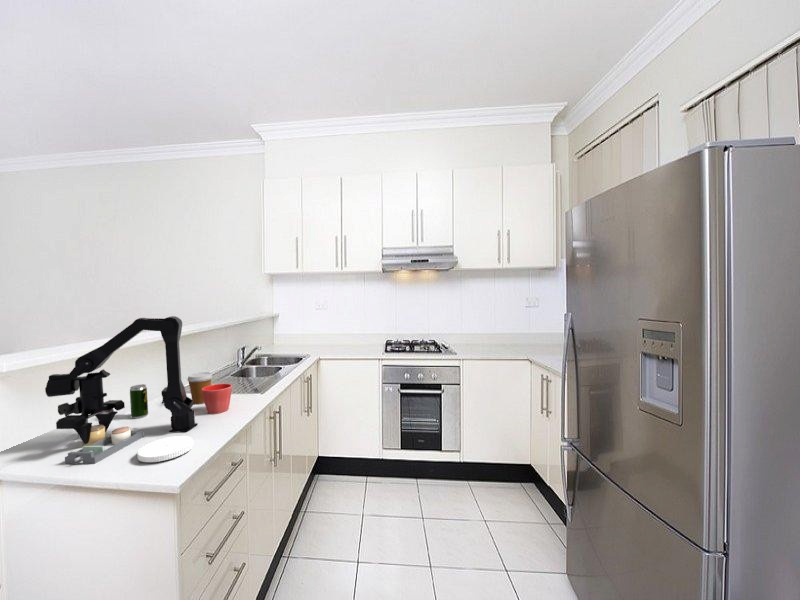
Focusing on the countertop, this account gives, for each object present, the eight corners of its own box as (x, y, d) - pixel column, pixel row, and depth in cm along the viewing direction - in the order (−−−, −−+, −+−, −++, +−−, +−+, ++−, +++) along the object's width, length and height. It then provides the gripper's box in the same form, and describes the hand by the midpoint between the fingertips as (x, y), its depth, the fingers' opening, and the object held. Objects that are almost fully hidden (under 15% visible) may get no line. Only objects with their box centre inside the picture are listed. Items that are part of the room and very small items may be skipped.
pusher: (104, 454, 106) (104, 445, 106) (86, 464, 100) (85, 455, 100) (84, 454, 106) (84, 445, 106) (65, 464, 100) (64, 455, 100)
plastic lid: (125, 464, 101) (124, 455, 101) (165, 442, 115) (165, 434, 115) (168, 467, 99) (167, 458, 98) (203, 444, 112) (203, 436, 112)
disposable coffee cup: (205, 405, 150) (204, 377, 149) (183, 405, 150) (182, 377, 149) (217, 398, 159) (216, 371, 159) (196, 398, 159) (195, 372, 159)
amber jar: (110, 439, 118) (109, 424, 118) (95, 446, 112) (94, 431, 112) (94, 439, 118) (93, 424, 118) (78, 446, 112) (77, 431, 112)
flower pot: (212, 406, 148) (211, 383, 148) (237, 405, 148) (236, 382, 147) (196, 415, 138) (195, 391, 137) (224, 415, 137) (223, 390, 137)
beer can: (130, 420, 135) (128, 389, 134) (131, 416, 139) (130, 385, 139) (148, 417, 137) (146, 386, 137) (148, 413, 142) (146, 383, 141)
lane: (143, 436, 119) (143, 427, 119) (94, 463, 101) (94, 453, 101) (118, 436, 119) (117, 427, 119) (65, 463, 101) (64, 453, 101)
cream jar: (135, 437, 118) (134, 426, 118) (123, 444, 113) (122, 432, 113) (120, 438, 118) (119, 426, 118) (107, 445, 113) (106, 433, 113)
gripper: (94, 384, 124) (96, 428, 125) (37, 401, 106) (40, 453, 106) (124, 384, 124) (127, 427, 124) (72, 401, 105) (75, 453, 106)
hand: (94, 439), depth 115 cm, fingers closed on amber jar, 5 cm apart
